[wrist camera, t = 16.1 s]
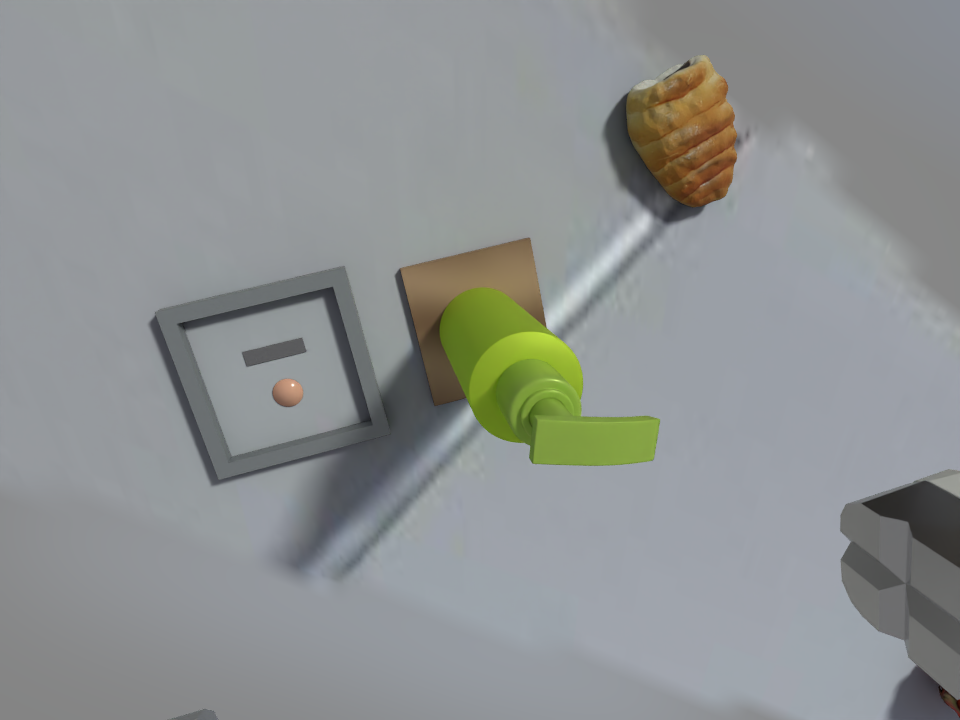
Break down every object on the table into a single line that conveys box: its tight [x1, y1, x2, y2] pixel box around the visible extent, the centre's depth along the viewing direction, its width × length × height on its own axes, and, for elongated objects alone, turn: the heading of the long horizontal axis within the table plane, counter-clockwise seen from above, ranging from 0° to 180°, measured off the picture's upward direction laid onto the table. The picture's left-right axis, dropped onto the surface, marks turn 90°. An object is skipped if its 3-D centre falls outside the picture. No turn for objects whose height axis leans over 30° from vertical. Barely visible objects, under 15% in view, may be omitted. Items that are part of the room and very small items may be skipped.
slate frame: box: [155, 266, 390, 480], centre depth 42 cm, size 12×12×1 cm
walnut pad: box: [400, 238, 547, 406], centre depth 44 cm, size 10×9×1 cm
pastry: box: [626, 55, 737, 207], centre depth 42 cm, size 9×7×4 cm
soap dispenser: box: [440, 287, 660, 466], centre depth 35 cm, size 6×7×20 cm
